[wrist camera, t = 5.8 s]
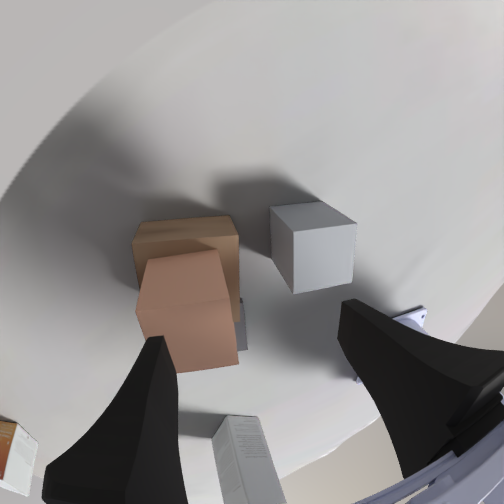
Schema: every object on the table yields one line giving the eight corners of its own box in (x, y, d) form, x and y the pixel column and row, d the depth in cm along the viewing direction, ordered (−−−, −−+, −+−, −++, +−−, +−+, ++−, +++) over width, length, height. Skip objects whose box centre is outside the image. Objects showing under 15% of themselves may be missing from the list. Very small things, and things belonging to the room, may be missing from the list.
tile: (246, 345, 25) (248, 351, 24) (189, 354, 24) (190, 360, 23) (241, 298, 23) (243, 304, 22) (177, 308, 22) (177, 314, 21)
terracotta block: (225, 307, 18) (238, 364, 14) (162, 316, 17) (159, 375, 13) (217, 248, 16) (229, 297, 12) (148, 259, 16) (135, 311, 11)
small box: (18, 422, 24) (3, 480, 15) (39, 442, 27) (30, 498, 18) (-13, 417, 23) (-28, 468, 14) (8, 437, 26) (-4, 486, 16)
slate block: (320, 250, 22) (351, 282, 18) (271, 258, 22) (293, 294, 17) (322, 200, 21) (357, 223, 16) (269, 206, 20) (293, 231, 16)
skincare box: (242, 440, 32) (262, 518, 21) (210, 438, 31) (226, 521, 20) (260, 415, 30) (289, 503, 19) (226, 413, 29) (248, 508, 18)
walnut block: (231, 289, 22) (240, 321, 19) (153, 296, 21) (149, 329, 18) (228, 214, 20) (238, 235, 16) (141, 221, 19) (131, 243, 15)
